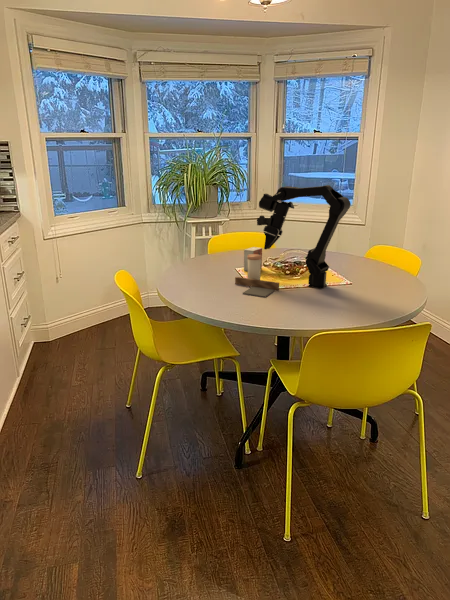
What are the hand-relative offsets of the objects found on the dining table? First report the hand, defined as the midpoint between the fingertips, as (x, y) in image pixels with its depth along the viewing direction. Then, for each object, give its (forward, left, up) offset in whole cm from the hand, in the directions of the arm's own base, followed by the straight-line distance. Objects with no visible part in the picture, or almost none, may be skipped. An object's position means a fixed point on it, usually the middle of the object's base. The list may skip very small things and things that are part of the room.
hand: (266, 249), depth 202 cm
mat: (-5, +19, -14) cm, 24 cm away
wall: (-1, +12, -14) cm, 18 cm away
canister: (+3, +6, -14) cm, 16 cm away
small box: (+12, -13, -14) cm, 23 cm away
